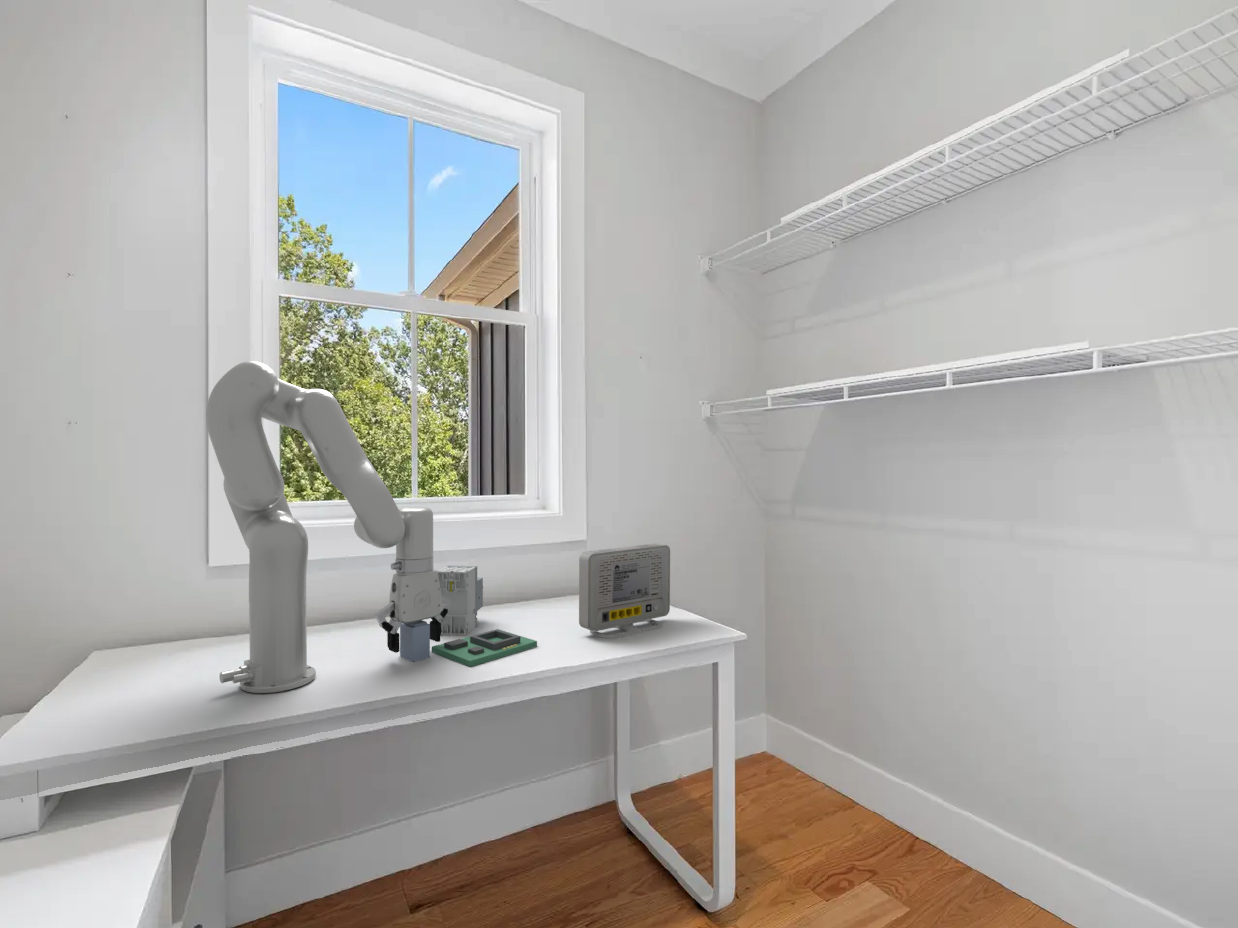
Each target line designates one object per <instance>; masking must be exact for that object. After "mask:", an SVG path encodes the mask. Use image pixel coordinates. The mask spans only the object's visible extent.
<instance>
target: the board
mask: <svg viewBox="0 0 1238 928" xmlns="http://www.w3.org/2000/svg"><path fill="white" fill-rule="evenodd" d="M536 647H538V640H535V639H532V638H528V637H526V636H522V635H520V634H519V635H518V634H515V633H512V632H509V631H506V630H502V629H497V628H496V629H491V630H489V631H485V632H481V633H477V634H473V635H469V636H466V637H463V638H457V639H453V640H449V641H445V642H443V643H440V644H436V645H432V646H431V653H434V654H436V655H437V656H438V655H439V656H441V657H444V658H446V659H449V660H451V661H454V662H456V663H458V664H462V665H465V666H467V667H470V668H471V667H473V666H474V667H475V666H477V665H481V664H484V663H488V662H490V661H495V660H497V659H500V658H503V657H507V656H510V655H513V654H517V653H520V652H523V651H527V650H530V649H533V648H536Z"/></svg>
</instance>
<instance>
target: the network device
mask: <svg viewBox="0 0 1238 928" xmlns="http://www.w3.org/2000/svg"><path fill="white" fill-rule="evenodd" d="M578 558H579V559H578V563H579V564H578V568H579V569H578V571H579V572H578V576H579V577H578V624H579V626H580V627H581V628H583V629H585V630H589V633H590V635H593V636H595V637H598V638H600V639H607V640H612V639H619V638H622V637H627V636H631V635H632V636H633V635H635V634H641V633H647V632H650V631H654V630H658V629H661V628H663V622H661V621H658V620H655V619H657V618H662V617H663V618H664V617H666V616H667V615H669V613H670V609H671V603H670V602H671V548H670V547H669V545H667V544H661V543H649V544H639V545H629V546H621V547H613V548H612V547H611V548H604V549H595V550H586V551H583V552H581V554H580V555H579V557H578ZM640 622H646V623H648V624H651V626H647V627H636V626H634V623H640ZM610 628H613V629H614V628H616V629H618V630H621V631H623V632H620V633H619V632H618V633H615V634H605V633H602V632H600V631H601V630H606V629H610Z"/></svg>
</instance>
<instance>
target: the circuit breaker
mask: <svg viewBox="0 0 1238 928" xmlns="http://www.w3.org/2000/svg"><path fill="white" fill-rule="evenodd" d="M437 573H438V578H439V583H440V591H441V596H442V597H445V598H447V599H450V600H451V604H450V607H449V609H448V613H447V614H446V616H445V617H444V621H443V622H442V623H441V636H442V635H445V636H447V635H448V636H451V635H452V636H467V634H468V635H469V634H470V633H471V632H472V631H473V630H474V629H476V628H477V626H478V618H477V616H478V611H479V610H480V609H482V608H483V606H484V605H483V604H484V601H483V600H484V581H483V580H484V577H478V566H477V565H446V566H445V567H444V566H443V567H442V568H440V569H438V570H437ZM441 607H442V603H441Z"/></svg>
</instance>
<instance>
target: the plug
mask: <svg viewBox="0 0 1238 928" xmlns="http://www.w3.org/2000/svg"><path fill="white" fill-rule="evenodd" d="M430 651H431V639H430V623H427V621H426V620H420V621H416V622H411V623H402V624H401V626H400V627H399V655H400V656H399V657H401V658H403V659H406V660H408V661H410V662H417V661H420V660H421V661H422V660H424V659H427V658H430V656H431V652H430Z"/></svg>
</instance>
